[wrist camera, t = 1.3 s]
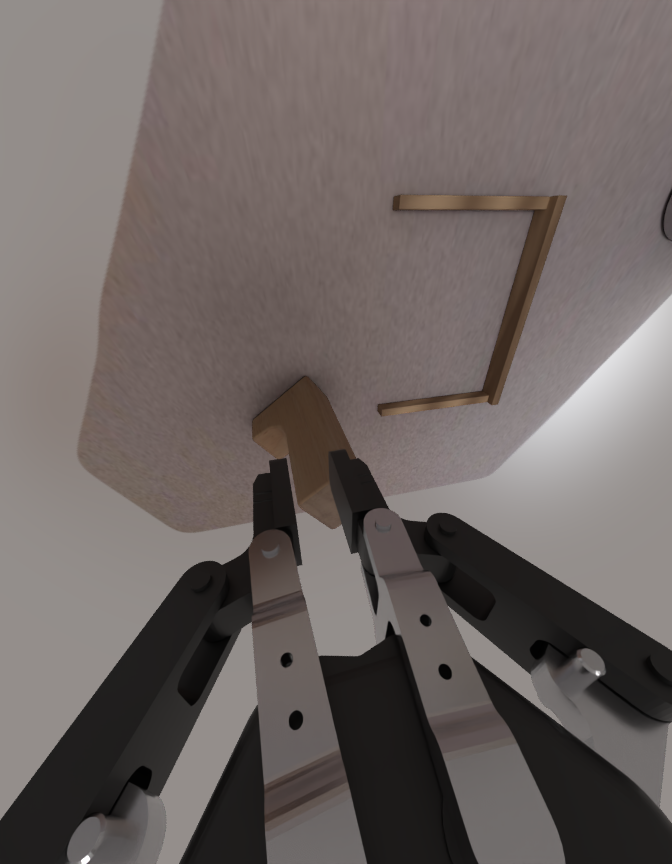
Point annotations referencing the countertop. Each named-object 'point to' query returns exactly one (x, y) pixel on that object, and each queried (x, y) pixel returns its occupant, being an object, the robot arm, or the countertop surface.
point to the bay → (520, 294)
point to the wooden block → (305, 445)
